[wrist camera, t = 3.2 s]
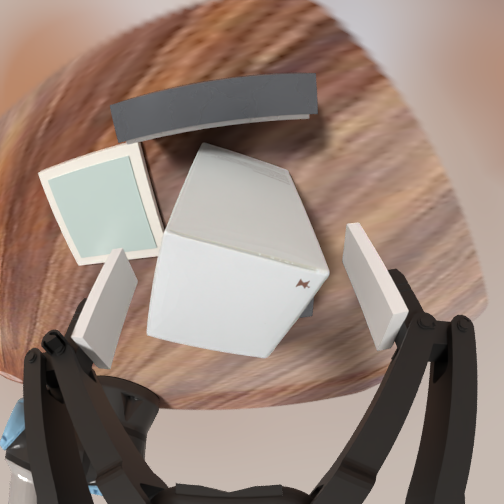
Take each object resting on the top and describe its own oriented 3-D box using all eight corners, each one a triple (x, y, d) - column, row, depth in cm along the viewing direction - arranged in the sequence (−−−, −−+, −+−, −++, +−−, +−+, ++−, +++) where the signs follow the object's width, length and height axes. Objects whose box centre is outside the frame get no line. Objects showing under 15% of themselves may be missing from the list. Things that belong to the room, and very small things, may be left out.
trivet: (80, 262, 26) (78, 266, 26) (41, 170, 19) (37, 173, 19) (171, 250, 26) (169, 255, 25) (139, 139, 19) (136, 141, 19)
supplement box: (201, 139, 20) (162, 224, 10) (290, 169, 22) (338, 275, 12) (177, 217, 24) (142, 337, 14) (256, 240, 26) (268, 363, 16)
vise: (198, 315, 32) (194, 350, 28) (136, 96, 17) (109, 105, 13) (301, 304, 31) (309, 340, 27) (297, 72, 17) (315, 73, 13)
